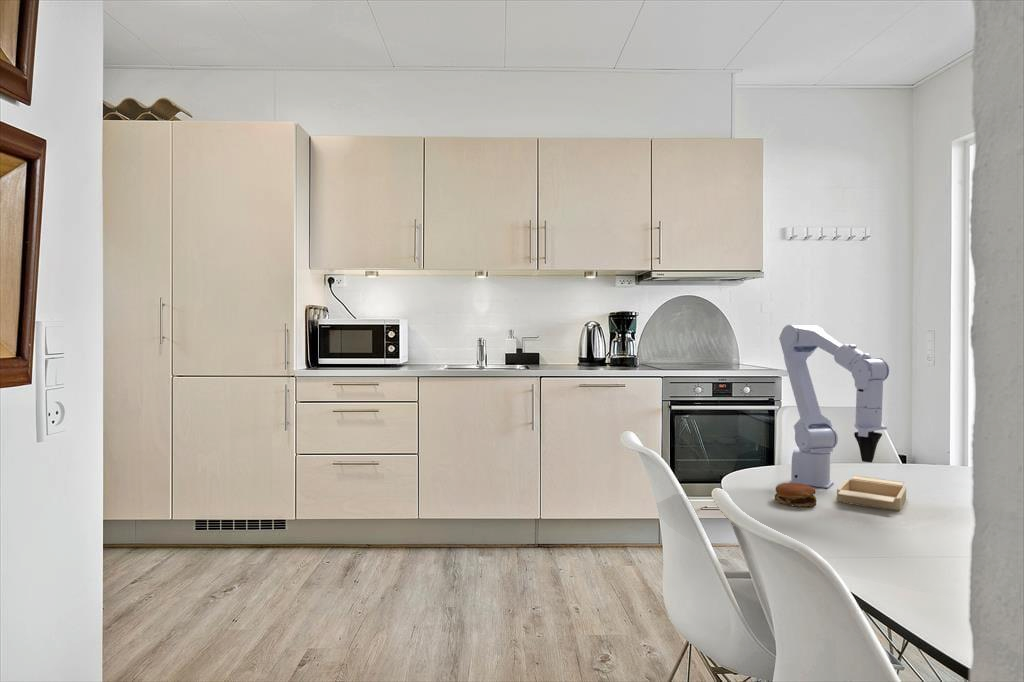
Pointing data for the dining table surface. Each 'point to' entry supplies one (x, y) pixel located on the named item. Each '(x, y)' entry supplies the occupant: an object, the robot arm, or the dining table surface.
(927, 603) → the dining table surface
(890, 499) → the flap
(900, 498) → the carton
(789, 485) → the burger
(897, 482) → the flap
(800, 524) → the dining table surface
